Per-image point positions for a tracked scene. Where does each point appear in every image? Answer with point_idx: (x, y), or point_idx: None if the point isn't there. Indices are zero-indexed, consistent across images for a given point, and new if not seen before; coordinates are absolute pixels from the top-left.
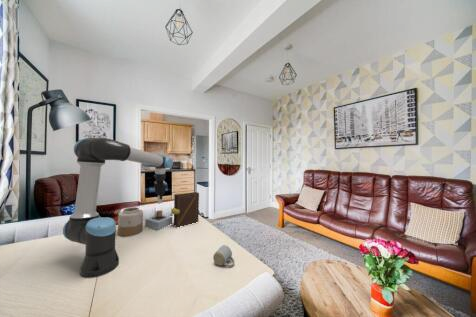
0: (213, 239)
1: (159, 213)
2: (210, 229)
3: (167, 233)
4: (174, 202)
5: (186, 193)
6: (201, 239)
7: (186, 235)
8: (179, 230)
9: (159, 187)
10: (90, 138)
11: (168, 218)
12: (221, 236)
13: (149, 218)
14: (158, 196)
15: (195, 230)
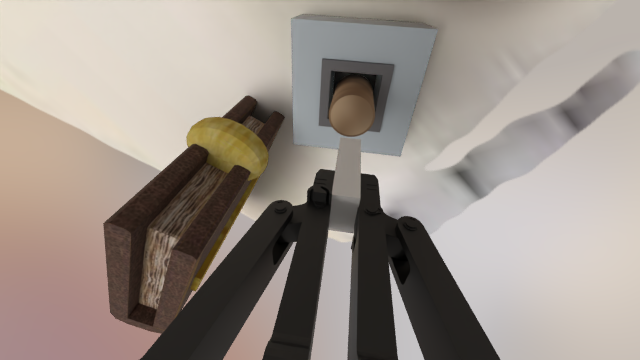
0: (16, 55)
1: (335, 96)
2: (122, 140)
3: (223, 7)
4: (226, 195)
5: (164, 302)
6: (42, 29)
7: (129, 35)
8: (208, 74)
9: (352, 337)
10: None
11: (294, 116)
12: (30, 97)
13: (416, 61)
14: (348, 186)
15: (154, 107)
